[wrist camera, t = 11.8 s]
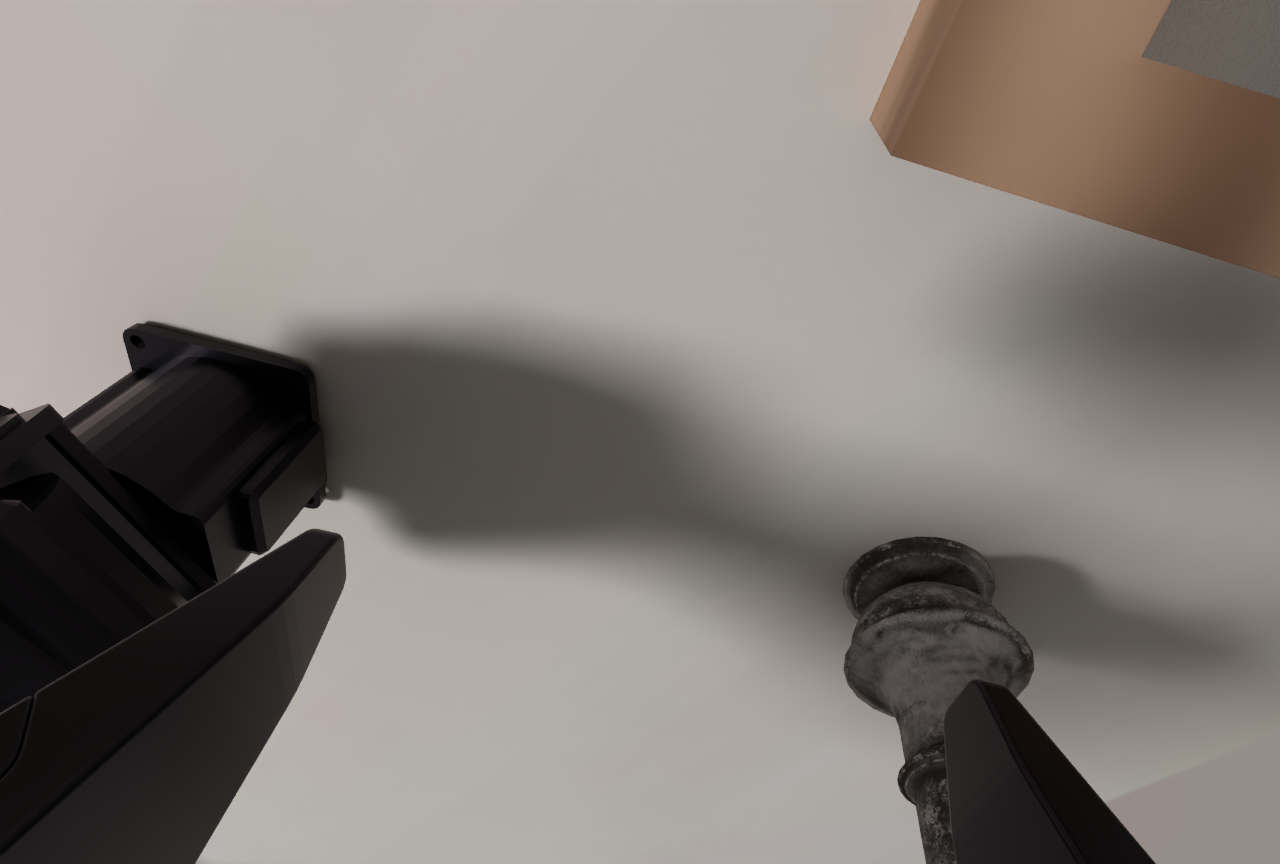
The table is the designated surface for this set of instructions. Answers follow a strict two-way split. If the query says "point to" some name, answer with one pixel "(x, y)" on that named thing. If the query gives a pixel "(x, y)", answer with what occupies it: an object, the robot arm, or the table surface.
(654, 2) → the table surface
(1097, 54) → the walnut block
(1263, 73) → the slate tin
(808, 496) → the table surface
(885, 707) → the dark grey tall piece
